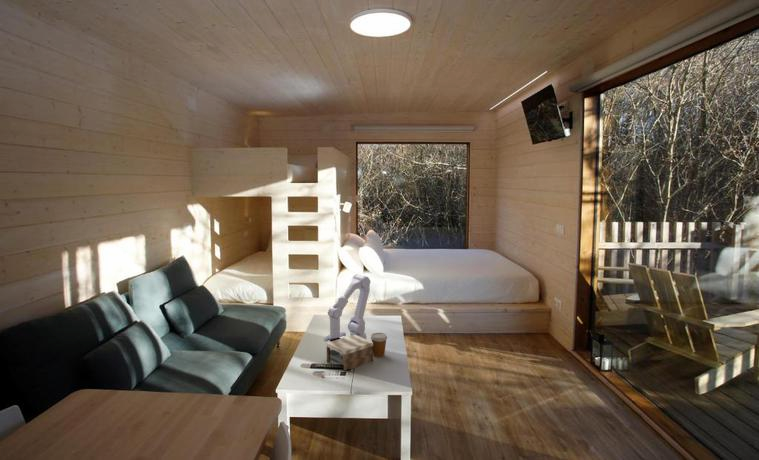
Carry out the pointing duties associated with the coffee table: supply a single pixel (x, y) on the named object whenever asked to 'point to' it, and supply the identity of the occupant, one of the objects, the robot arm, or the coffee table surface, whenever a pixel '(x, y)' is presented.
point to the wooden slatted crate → (352, 350)
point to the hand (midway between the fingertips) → (335, 350)
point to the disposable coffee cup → (379, 344)
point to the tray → (337, 356)
